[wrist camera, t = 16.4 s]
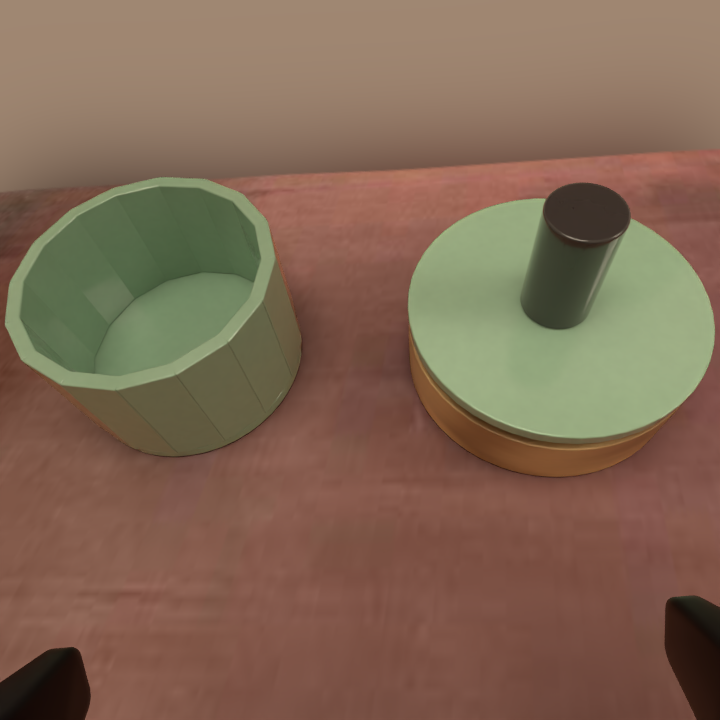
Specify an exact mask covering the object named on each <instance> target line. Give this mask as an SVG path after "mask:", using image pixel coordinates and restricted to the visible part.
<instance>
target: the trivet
mask: <svg viewBox="0 0 720 720" xmlns="http://www.w3.org/2000/svg"><path fill="white" fill-rule="evenodd" d="M409 359H410V369H411V374H412V378H413V382H414V386H415V388H416V391H417V393H418V395H419V398H420V400H421V402H422V403H423V405H424V407H425V408H426V410H427V412H428V413H429V415H430V416H431V417H432V419H433V420H434V421H435V422H436V424H437V425H438V426H439V427H440V428H441V429H442V430H443V431H444V432H445V433H446V434H447V435H448V436H449V437H450V438H451V439H452V440H454V441H455V442H456V443H458V444H459V445H460V446H462V447H463V448H464V449H466V450H467V451H469V452H471V453H472V454H474V455H476V456H477V457H479V458H481V459H483V460H485V461H487V462H490V463H492V464H494V465H497V466H499V467H502V468H505V469H508V470H512V471H515V472H518V473H524V474H530V475H535V476H548V477H564V476H577V475H582V474H587V473H592V472H596V471H599V470H602V469H605V468H608V467H611V466H613V465H615V464H617V463H619V462H621V461H623V460H625V459H627V458H628V457H630V456H631V455H632V454H634V453H635V452H637V451H638V450H639V449H641V448H642V447H643V446H644V445H645V444H646V443H647V442H648V441H649V440H650V439H651V438H652V437H653V436H654V435H655V434H656V432H657V431H658V430H659V429H660V428H661V427H662V426H663V425H664V424H665V423H666V421H667V420H668V419H669V418H670V417H671V416H672V415H673V414H674V413H675V412H676V410H677V409H678V408H679V407H680V406H681V405H682V404H681V405H680V406H679V407H678V408H677V409H676V410H675V411H674V412H673V413H672V414H670V415H669V416H667V417H666V418H665V419H663V420H662V421H660V422H659V423H657V424H655V425H653V426H651V427H649V428H647V429H645V430H643V431H641V432H638V433H635V434H632V435H630V436H627V437H624V438H620V439H615V440H610V441H605V442H600V443H587V444H565V443H552V442H546V441H540V440H534V439H530V438H526V437H523V436H519V435H516V434H512V433H510V432H507V431H505V430H502V429H500V428H497V427H495V426H493V425H491V424H489V423H487V422H485V421H483V420H481V419H480V418H478V417H476V416H474V415H473V414H471V413H470V412H468V411H467V410H466V409H464V408H463V407H461V406H460V405H459V404H457V403H456V402H455V401H454V400H453V399H452V398H450V397H449V396H448V395H447V394H446V393H445V392H444V391H443V390H442V389H441V388H440V387H439V386H438V384H437V383H436V382H435V381H434V380H433V378H432V377H431V376H430V375H429V373H428V372H427V370H426V368H425V367H424V365H423V364H422V362H421V360H420V358H419V356H418V354H417V351H416V349H415V347H414V345H413V341H412V337H411V334H410V330H409Z"/></svg>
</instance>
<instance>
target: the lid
mask: <svg viewBox="0 0 720 720" xmlns="http://www.w3.org/2000/svg"><path fill="white" fill-rule="evenodd" d="M408 321H409V330H410V334H411V337H412V341H413V345H414V347H415V349H416V351H417V354H418V356H419V358H420V360H421V362H422V364H423V365H424V367H425V368H426V370H427V372H428V373H429V375H430V376H431V377H432V378H433V380H434V381H435V382H436V383H437V384H438V386H439V387H440V388H441V389H442V390H443V391H444V392H445V393H446V394H447V395H448V396H449V397H450V398H452V399H453V400H454V401H455V402H456V403H457V404H459V405H460V406H461V407H463V408H464V409H466V410H467V411H468V412H470V413H471V414H473V415H474V416H476V417H478V418H480V419H481V420H483V421H485V422H487V423H489V424H491V425H493V426H495V427H497V428H500V429H502V430H505V431H507V432H510V433H512V434H516V435H519V436H523V437H526V438H530V439H534V440H540V441H546V442H552V443H565V444H587V443H600V442H605V441H610V440H615V439H620V438H624V437H627V436H630V435H632V434H635V433H638V432H641V431H643V430H645V429H647V428H649V427H651V426H653V425H655V424H657V423H659V422H660V421H662V420H663V419H665V418H666V417H667V416H669V415H670V414H672V413H673V412H674V411H675V410H676V409H677V408H678V407H679V406H680V405H681V404H682V403H683V402H684V401H685V400H686V399H687V398H688V397H689V396H690V395H691V394H692V393H693V392H694V390H695V389H696V387H697V386H698V384H699V383H700V381H701V380H702V379H703V377H704V375H705V372H706V370H707V368H708V366H709V364H710V360H711V356H712V352H713V348H714V337H715V325H714V317H713V311H712V308H711V304H710V301H709V297H708V295H707V293H706V291H705V288H704V286H703V284H702V282H701V280H700V279H699V277H698V276H697V274H696V273H695V271H694V269H693V268H692V267H691V265H690V264H689V263H688V262H687V261H686V259H685V258H684V257H683V256H682V255H681V254H680V253H679V252H678V251H677V250H676V249H675V248H674V247H673V246H672V245H671V244H670V243H669V242H667V241H666V240H665V239H663V238H662V237H661V236H659V235H658V234H657V233H655V232H654V231H653V230H651V229H649V228H648V227H646V226H644V225H643V224H641V223H639V222H637V221H635V220H633V219H631V214H630V209H629V207H628V205H627V203H626V202H625V200H624V199H623V198H622V197H621V196H620V195H619V194H617V193H616V192H614V191H613V190H611V189H609V188H607V187H604V186H601V185H597V184H592V183H573V184H568V185H565V186H562V187H560V188H558V189H556V190H555V191H553V192H552V193H551V194H550V195H549V196H548V197H547V199H525V200H516V201H511V202H505V203H501V204H497V205H494V206H490V207H487V208H484V209H482V210H479V211H477V212H475V213H472V214H470V215H468V216H466V217H465V218H463V219H461V220H459V221H457V222H456V223H454V224H453V225H452V226H450V227H449V228H448V229H446V230H445V231H444V232H443V233H442V234H440V235H439V236H438V237H437V238H436V239H435V240H434V241H433V242H432V244H431V245H430V246H429V247H428V249H427V250H426V251H425V252H424V254H423V256H422V257H421V259H420V261H419V262H418V264H417V266H416V269H415V271H414V274H413V276H412V279H411V283H410V288H409V292H408Z"/></svg>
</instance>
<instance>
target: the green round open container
mask: <svg viewBox="0 0 720 720" xmlns="http://www.w3.org/2000/svg"><path fill="white" fill-rule="evenodd" d="M5 326H6V328H7V331H8V333H9V335H10V337H11V339H12V341H13V343H14V346H15V348H16V350H17V352H18V354H19V356H20V358H21V360H22V361H23V362H24V363H25V364H26V365H27V366H28V367H29V368H31V369H32V370H33V371H34V372H35V373H36V374H38V375H39V376H40V377H41V378H42V379H44V380H45V381H46V382H47V383H48V384H49V385H51V386H52V387H53V388H54V389H55V390H57V391H58V392H59V393H60V394H61V395H62V396H64V397H65V398H66V399H67V400H68V401H69V402H71V403H72V404H73V405H74V406H75V407H77V408H78V409H79V410H80V411H81V412H82V413H84V414H85V415H86V416H87V417H88V418H89V419H91V420H92V421H93V422H94V423H95V424H97V425H98V426H99V427H100V428H102V429H103V430H105V431H106V432H108V433H110V434H111V435H112V436H114V437H115V438H116V439H118V440H119V441H120V442H122V443H123V444H125V445H127V446H129V447H131V448H133V449H136V450H139V451H142V452H144V453H148V454H154V455H159V456H188V455H194V454H199V453H204V452H208V451H211V450H214V449H217V448H220V447H223V446H225V445H227V444H229V443H232V442H234V441H236V440H238V439H239V438H241V437H243V436H244V435H246V434H248V433H249V432H251V431H252V430H253V429H255V428H256V427H257V426H258V425H260V424H261V423H262V422H263V421H264V420H265V419H266V418H267V417H269V416H270V415H271V414H272V413H273V412H274V410H275V409H276V408H277V407H278V405H279V404H280V403H281V402H282V400H283V399H284V397H285V396H286V394H287V393H288V391H289V390H290V388H291V385H292V383H293V381H294V379H295V377H296V374H297V371H298V368H299V365H300V359H301V353H302V337H301V331H300V326H299V323H298V319H297V315H296V311H295V306H294V303H293V300H292V297H291V293H290V290H289V287H288V284H287V281H286V277H285V274H284V271H283V268H282V265H281V261H280V258H279V255H278V252H277V249H276V245H275V242H274V239H273V236H272V233H271V229H270V226H269V223H268V221H267V219H266V218H265V217H264V216H263V215H262V214H261V213H260V212H259V211H258V210H257V209H256V208H255V207H254V206H253V205H252V203H251V202H250V201H249V200H248V199H247V198H246V197H245V196H244V195H243V194H241V193H240V192H237V191H235V190H232V189H230V188H227V187H224V186H222V185H219V184H217V183H214V182H212V181H209V180H207V179H199V178H172V177H161V178H154V179H150V180H145V181H141V182H137V183H133V184H128V185H124V186H120V187H115V188H112V189H110V190H108V191H106V192H104V193H102V194H100V195H98V196H96V197H94V198H92V199H91V200H89V201H87V202H85V203H83V204H81V205H79V206H77V207H75V208H73V209H71V210H70V211H68V212H67V213H66V214H65V215H64V216H63V217H61V218H60V219H59V220H58V221H57V222H56V223H55V224H54V225H52V226H51V227H50V228H49V229H48V230H47V231H46V232H45V233H44V234H42V235H41V236H40V237H39V238H38V239H37V240H36V241H35V242H34V243H33V244H32V245H31V247H30V249H29V250H28V252H27V254H26V255H25V257H24V259H23V260H22V262H21V264H20V265H19V267H18V269H17V270H16V272H15V274H14V276H13V277H12V279H11V281H10V283H9V291H8V299H7V307H6V316H5Z"/></svg>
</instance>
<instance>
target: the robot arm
mask: <svg viewBox="0 0 720 720" xmlns="http://www.w3.org/2000/svg"><path fill="white" fill-rule="evenodd" d="M665 650H666V654H667V658H668V661H669V663H670V665H671V667H672V669H673V671H674V673H675V675H676V677H677V679H678V682H679V684H680V686H681V688H682V690H683V692H684V694H685V696H686V698H687V700H688V702H689V704H690V706H691V708H692V711H693V713H694V715H695V717H696V719H697V720H720V607H718V606H716V605H714V604H712V603H710V602H709V601H707V600H705V599H703V598H701V597H698V596H681V597H672V598H670V599H668V600H667V603H666V608H665ZM90 697H91V694H90V687H89V683H88V679H87V675H86V672H85V668H84V664H83V661H82V657H81V654H80V652H79V651H78V649H76V648H74V647H68V648H55V649H50V650H47V651H46V652H44V653H43V654H41V655H40V656H38V657H37V658H35V659H34V660H33V661H31V662H30V663H28V664H27V665H25V666H24V667H22V668H21V669H19V670H18V671H17V672H15V673H14V674H12V675H11V676H9V677H8V678H6V679H5V680H3V681H2V682H0V720H85V717H86V714H87V712H88V708H89V704H90Z"/></svg>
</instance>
